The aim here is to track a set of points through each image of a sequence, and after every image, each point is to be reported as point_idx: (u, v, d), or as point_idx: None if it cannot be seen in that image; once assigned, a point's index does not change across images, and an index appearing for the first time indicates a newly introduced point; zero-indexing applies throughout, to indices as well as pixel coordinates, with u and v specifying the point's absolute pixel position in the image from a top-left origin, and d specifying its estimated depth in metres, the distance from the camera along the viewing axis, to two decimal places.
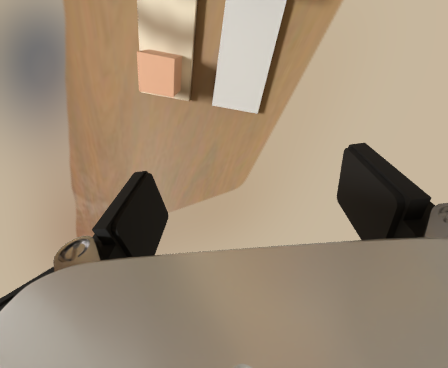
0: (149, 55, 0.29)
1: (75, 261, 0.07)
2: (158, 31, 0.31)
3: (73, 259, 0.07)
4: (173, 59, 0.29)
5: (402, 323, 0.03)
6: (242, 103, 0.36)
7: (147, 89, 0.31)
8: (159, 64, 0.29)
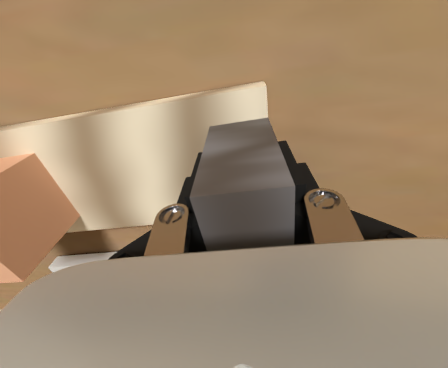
0: None
1: (168, 226, 0.07)
2: (85, 168, 0.13)
3: (168, 222, 0.07)
4: (20, 279, 0.11)
5: (402, 323, 0.03)
6: None
7: None
8: None
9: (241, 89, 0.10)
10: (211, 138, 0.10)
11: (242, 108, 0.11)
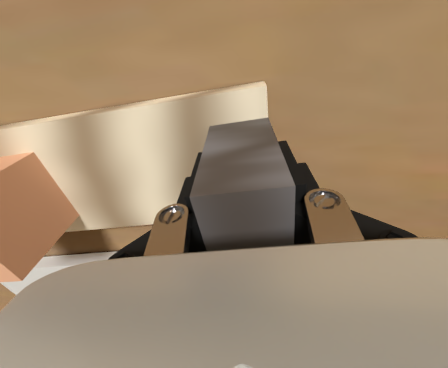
0: None
1: (168, 226, 0.07)
2: (84, 167, 0.13)
3: (168, 222, 0.07)
4: (18, 279, 0.11)
5: (402, 323, 0.03)
6: None
7: None
8: None
9: (241, 89, 0.10)
10: (211, 138, 0.10)
11: (242, 108, 0.11)
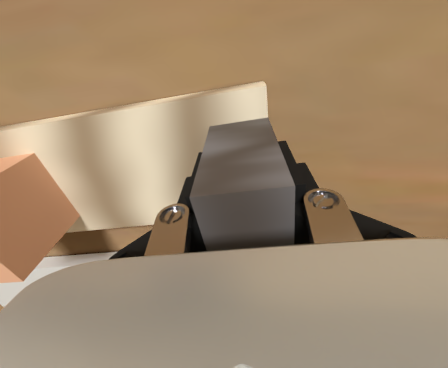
0: None
1: (169, 226, 0.07)
2: (85, 168, 0.13)
3: (169, 222, 0.07)
4: (20, 279, 0.11)
5: (402, 323, 0.03)
6: (5, 301, 0.23)
7: None
8: None
9: (241, 89, 0.10)
10: (211, 138, 0.10)
11: (242, 108, 0.11)
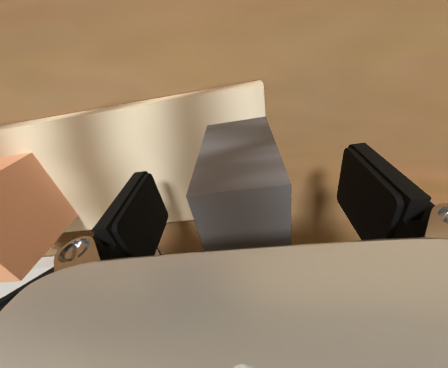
0: None
1: (75, 261, 0.07)
2: (82, 167, 0.13)
3: (73, 259, 0.07)
4: (17, 279, 0.11)
5: (402, 323, 0.03)
6: None
7: None
8: None
9: (238, 88, 0.10)
10: (208, 137, 0.10)
11: (239, 107, 0.11)
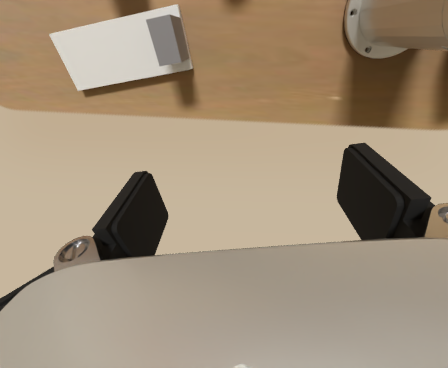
0: None
1: (75, 261, 0.07)
2: None
3: (73, 259, 0.07)
4: None
5: (402, 323, 0.03)
6: (74, 70, 0.35)
7: None
8: None
9: None
10: None
11: None
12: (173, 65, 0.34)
